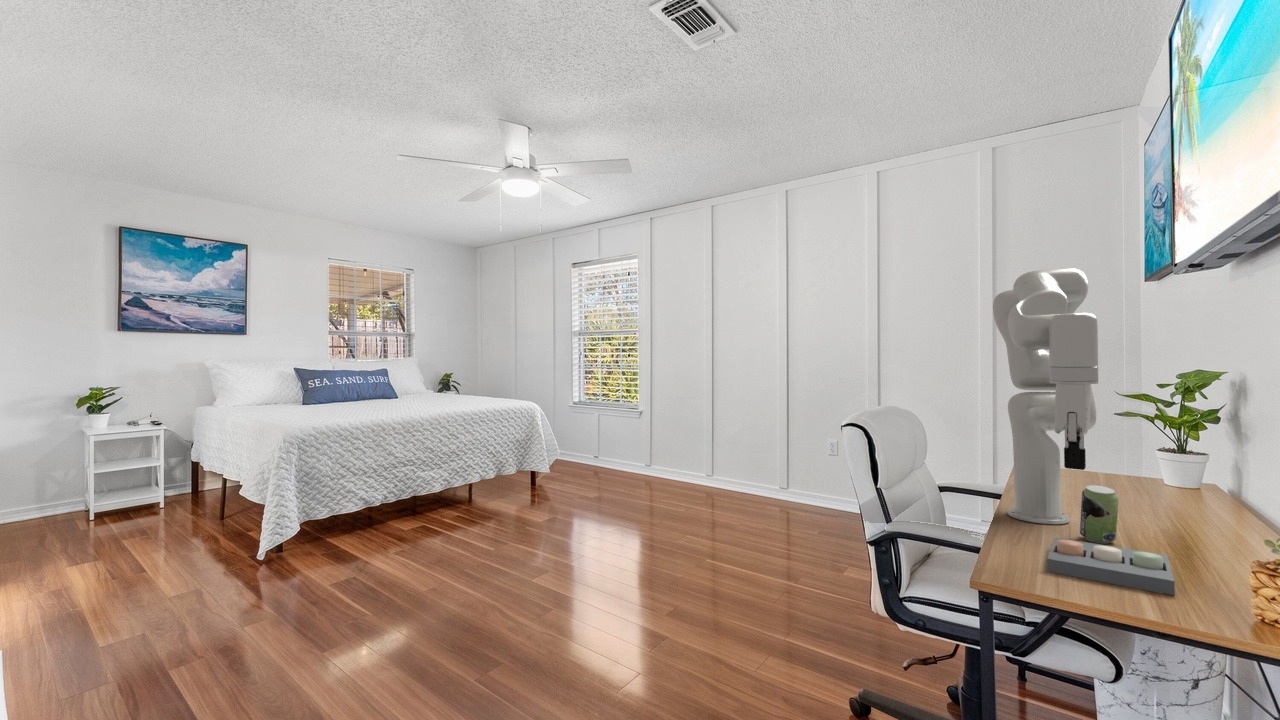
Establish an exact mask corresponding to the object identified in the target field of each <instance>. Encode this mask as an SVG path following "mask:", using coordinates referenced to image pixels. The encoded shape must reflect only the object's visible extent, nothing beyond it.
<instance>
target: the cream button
mask: <svg viewBox="0 0 1280 720" xmlns="http://www.w3.org/2000/svg"><path fill="white" fill-rule="evenodd" d="M1100 545H1101V544H1100ZM1100 545H1098V546H1094V547H1093V551H1094V559H1098V560H1104V561H1110V562H1116V563H1122V551H1121V550H1119V549H1117V548H1114V547H1115V546H1113V547H1109V546H1110V545H1106V546H1100Z"/></svg>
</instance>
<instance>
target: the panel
mask: <svg viewBox="0 0 1280 720" xmlns="http://www.w3.org/2000/svg"><path fill="white" fill-rule="evenodd" d="M1058 540H1070V541H1076V542H1079V543H1081V544H1083V556H1084V557H1080V556H1074V555H1068V554H1063V553H1057V541H1058ZM1098 545H1100V546H1107V544H1105V545H1104V544H1101V543H1095V542H1086V541H1082V540H1081V541H1080V540H1074V539H1073V540H1072V539H1067V538H1061V537H1053V541H1052V544H1051V546H1050V549H1049V552H1048V555H1047V561H1046V562H1047V564H1046V565H1047V572H1048V573H1053V574H1059V575H1065V576H1068V577H1069V576H1070V577H1075V578H1081V579H1086V580H1090V581H1096V582H1101V583H1102V582H1103V583H1107V584H1111V585H1118V586H1122V587H1128V588H1132V589H1138V588H1140V589H1139V590H1143V589H1145V590H1144V591H1148V590H1150V592H1154V593H1158V594H1159V593H1160V594H1164V593H1165V595H1171V596H1176V591H1175V584H1176V583H1175V578H1174V575H1173V570H1172V567H1171V564H1170V560H1169V556H1168V554H1164V553H1158V552H1150V551H1147V552H1148V553H1153V554H1156V555H1159V556H1161V557H1163V570H1157V569H1151V568H1145V567H1139V566H1133V554H1132V553H1133V552H1146V551H1144V550H1139V549H1138V550H1136V549H1132V548H1125V547H1118V546H1113V545H1108V546H1109V547H1114V548H1117V549H1119V550H1121V551H1122V563H1116V562H1110V561H1104V560H1098V559H1094V551H1093V547H1094V546H1098Z"/></svg>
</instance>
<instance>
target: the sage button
mask: <svg viewBox="0 0 1280 720" xmlns="http://www.w3.org/2000/svg"><path fill="white" fill-rule="evenodd" d="M1148 552H1149V551H1145V552H1133V553H1132V554H1133V566H1139V567H1145V568H1151V569H1157V570H1163V557H1161V556H1159V555H1156V554H1153V553H1154V552H1152V553H1148Z"/></svg>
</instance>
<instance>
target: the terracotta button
mask: <svg viewBox="0 0 1280 720" xmlns="http://www.w3.org/2000/svg"><path fill="white" fill-rule="evenodd" d="M1070 540H1071V539H1068V540H1058V541H1057V553H1063V554H1068V555H1074V556H1080V557H1084V556H1083V544H1081V543H1079V542H1076V541H1077V540H1074V541H1070Z"/></svg>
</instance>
